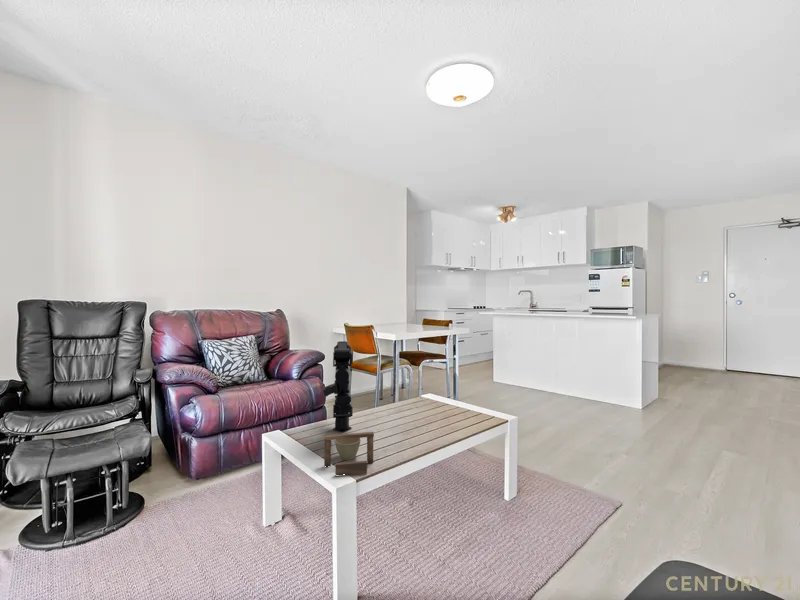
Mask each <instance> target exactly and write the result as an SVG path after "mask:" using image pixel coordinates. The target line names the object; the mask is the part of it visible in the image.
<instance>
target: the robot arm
mask: <svg viewBox="0 0 800 600" xmlns="http://www.w3.org/2000/svg"><path fill="white" fill-rule="evenodd" d="M348 343H349V342H348V341H346V340H345V341H337V344H336V345H335V346H334V347H333V357H332V358H333V360H332V367H335V371H334V379H335V380H334V383H332V384H329V385H326V386H324V387H322V388H321V390H322V393H323V395H324V398H326V397H328V396H330V395H335V396H334V398H335V400H334V404H333V408H332V411H333V412H332V413H333V414H332V415H333V419H334V418H335V421H334V427H333V428H332V430H333V431H337V432H340V433H344V432H346V431H349V430H351V429H352V427H351V426H350V418H352V417H353V411H354V410H353V409H354V408H353V405H352V403H351V402H352V396H351V394H350V389H349V388H350V387H349V386H350V380H349V379H350V373H349V371H350V367H352V365H353V353H352V347H351V345H349V344H348Z"/></svg>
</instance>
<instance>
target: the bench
mask: <svg viewBox="0 0 800 600" xmlns="http://www.w3.org/2000/svg"><path fill="white" fill-rule="evenodd" d="M349 438H360V439H362V438H366V460H358V461H347V462H336V463H335V465H334V466H335V471H334V472H335V474H336V475H343V474H345V475H346V476H354V475H357V476H358V475H364V474H366V475H367V473H368V471H367V470H368V464H373V463H374V438H375V433H374V431H367V432H366V431H364V432H363V431H362V432H350V433H349V432H348V433H337V434H336V433H335V434H325V435H323V439H324V440H323V441H324V442H323V443H324V444H323V445H324V446H323V450H324V451H323V453H324V455H323V457H324V458H323V462H324V463H323V466H326V467H325V468H329V467H328V466H330V467H331V466H332V441H333V440H334V441H335V440H336V439H349ZM336 475H335V476H336Z"/></svg>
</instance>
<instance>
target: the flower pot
mask: <svg viewBox="0 0 800 600" xmlns="http://www.w3.org/2000/svg"><path fill="white" fill-rule="evenodd" d="M361 439H362V438H349V439H336V440H334V443H335V448H336V451H337V452H338V455H339V457H340V458H341V459H342V460H344V461H350V460H353V459H355V457H356V455H357V453H358V451H359V448H360V445H361Z"/></svg>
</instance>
